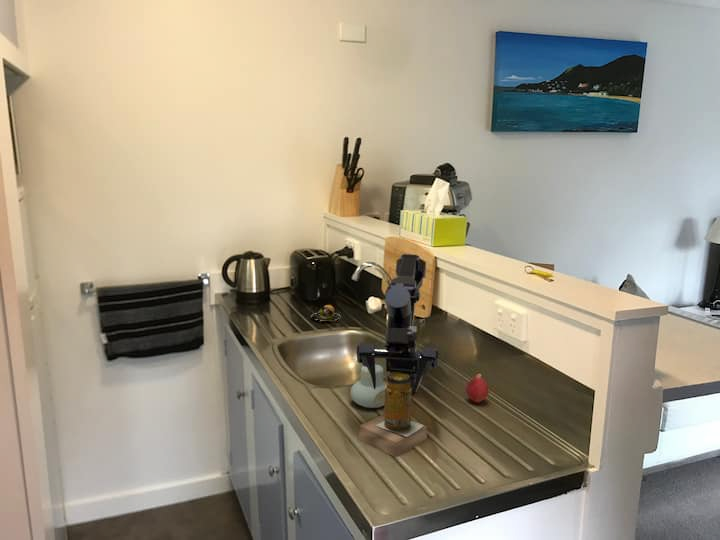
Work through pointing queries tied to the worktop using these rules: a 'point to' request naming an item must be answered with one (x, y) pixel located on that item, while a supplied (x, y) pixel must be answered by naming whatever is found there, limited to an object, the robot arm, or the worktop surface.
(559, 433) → the worktop surface
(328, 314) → the burger
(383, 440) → the pinkish brown square block
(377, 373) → the air freshener
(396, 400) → the condiment
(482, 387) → the onion
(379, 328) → the worktop surface
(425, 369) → the robot arm
